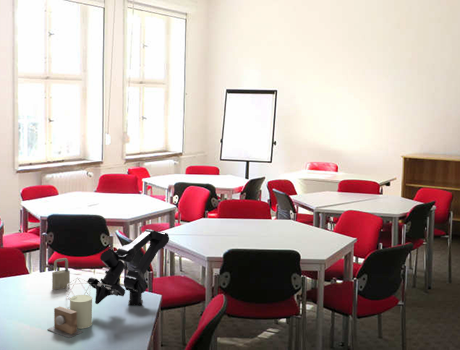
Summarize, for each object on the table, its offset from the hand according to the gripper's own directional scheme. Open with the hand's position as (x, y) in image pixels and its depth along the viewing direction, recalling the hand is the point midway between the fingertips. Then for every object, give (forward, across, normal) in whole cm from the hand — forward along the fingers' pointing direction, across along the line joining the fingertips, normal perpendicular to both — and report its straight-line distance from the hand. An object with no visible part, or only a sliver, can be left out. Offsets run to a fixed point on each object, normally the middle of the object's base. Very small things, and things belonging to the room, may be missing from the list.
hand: (96, 303), depth 252 cm
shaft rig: (+17, 0, +7) cm, 18 cm away
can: (+11, 0, +1) cm, 11 cm away
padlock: (-8, +44, -19) cm, 49 cm away
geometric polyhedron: (-3, +24, -14) cm, 28 cm away
